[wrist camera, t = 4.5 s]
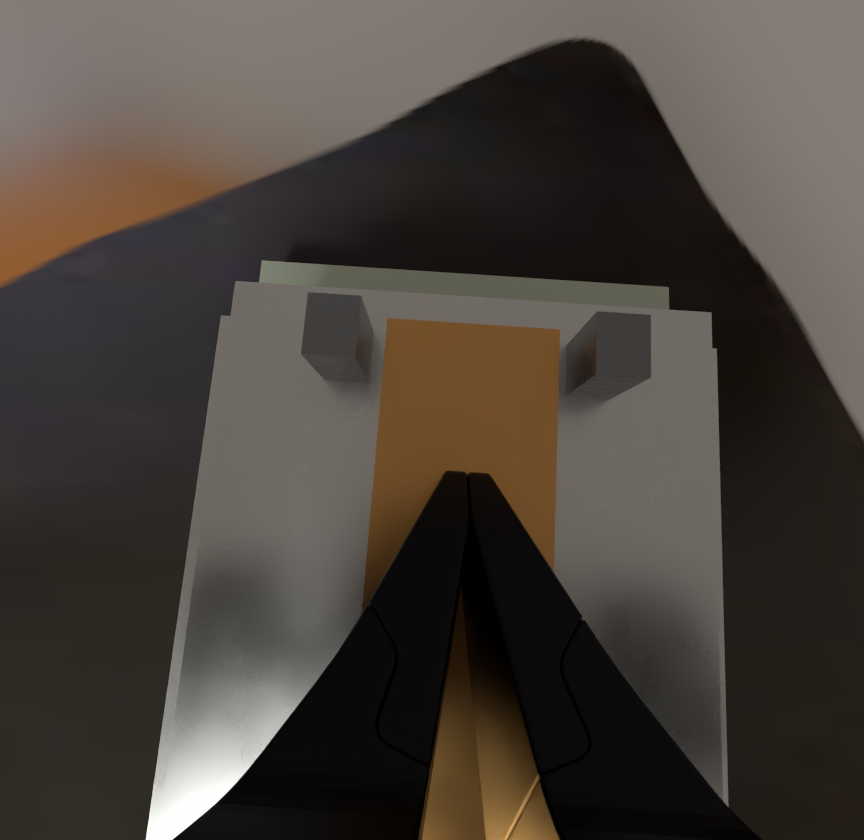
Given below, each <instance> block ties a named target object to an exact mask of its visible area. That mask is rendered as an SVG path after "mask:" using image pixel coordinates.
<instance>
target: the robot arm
mask: <svg viewBox="0 0 864 840" xmlns="http://www.w3.org/2000/svg"><path fill="white" fill-rule="evenodd" d="M460 587H461V588H462V601H463V611H464V621H465V631H466V642H467V652H468V662H469V672H470V682H471V692H472V702H473V712H474V722H475V733H476V743H477V753H478V763H479V773H480V783H481V793H482V803H483V813H484V823H485V834H486V840H762V839H761V838H760V837H758V836H757V835H756V834H755V833H754V832H753V831H752V830H751V829H750V828H749V827H748V826H746V825H745V824H744V823H743V822H742V821H741V820H740V819H739V818H738V817H737V816H736V815H735V814H734V812H733V811H732V810H731V809H730V808H729V807H728V806H727V805H726V804H725V803H724V802H723V800H722V799H721V798H720V797H719V796H718V794H717V793H716V792H715V791H714V790H713V788H712V787H711V786H710V785H709V784H708V782H707V781H706V780H705V779H704V777H703V776H702V775H701V774H700V772H699V771H698V770H697V769H696V767H695V766H694V765H693V764H692V762H691V761H690V760H689V759H688V757H687V756H686V755H685V754H684V752H683V751H682V750H681V749H680V747H679V746H678V745H677V744H676V742H675V741H674V740H673V739H672V737H671V736H670V735H669V734H668V732H667V731H666V730H665V729H664V727H663V726H662V725H661V724H660V722H659V721H658V720H657V719H656V717H655V716H654V715H653V714H652V712H651V711H650V710H649V709H648V707H647V706H646V705H645V704H644V702H643V701H642V700H641V698H640V697H639V696H638V694H637V693H636V692H635V691H634V689H633V688H632V687H631V685H630V684H629V683H628V681H627V680H626V679H625V678H624V676H623V675H622V674H621V672H620V671H619V670H618V668H617V667H616V665H615V664H614V662H613V661H612V660H611V658H610V657H609V655H608V654H607V652H606V651H605V649H604V648H603V646H602V645H601V644H600V642H599V641H598V639H597V638H596V636H595V634H594V633H593V631H592V630H591V628H590V627H589V625H588V624H587V622H586V621H585V620H582V615H581V613H580V612H579V610H578V609H577V607H576V606H575V604H574V602H573V601H572V599H571V598H570V596H569V595H568V593H567V592H566V590H565V589H564V587H563V586H562V584H561V582H560V581H559V579H558V578H557V576H556V575H555V573H554V572H553V570H552V569H551V567H550V566H549V564H548V562H547V561H546V559H545V558H544V556H543V555H542V553H541V552H540V550H539V549H538V547H537V546H536V544H535V543H534V541H533V539H532V538H531V536H530V535H529V533H528V532H527V530H526V529H525V527H524V526H523V524H522V523H521V521H520V519H519V518H518V516H517V515H516V513H515V512H514V510H513V509H512V507H511V506H510V504H509V503H508V501H507V500H506V498H505V496H504V495H503V493H502V492H501V490H500V489H499V487H498V486H497V484H496V483H495V481H494V480H493V478H492V477H491V475H490V474H488V473H479V472H470V473H468V475H467V473H466V472H464V471H449V470H448V471H446V472H445V473H444V474H443V476H442V477H441V479H440V481H439V483H438V484H437V486H436V488H435V489H434V491H433V493H432V495H431V496H430V498H429V500H428V501H427V503H426V505H425V506H424V508H423V510H422V512H421V513H420V515H419V517H418V518H417V520H416V522H415V523H414V525H413V527H412V529H411V530H410V532H409V534H408V535H407V537H406V539H405V541H404V542H403V544H402V546H401V547H400V549H399V551H398V552H397V554H396V556H395V558H394V559H393V561H392V563H391V564H390V566H389V568H388V570H387V571H386V573H385V575H384V576H383V578H382V580H381V581H380V583H379V585H378V587H377V588H376V590H375V592H374V593H373V595H372V597H371V599H370V600H369V605H366V607H365V608H364V610H363V612H362V613H361V615H360V617H359V618H358V620H357V622H356V624H355V625H354V627H353V628H352V630H351V631H350V633H349V635H348V636H347V638H346V639H345V641H344V643H343V644H342V646H341V647H340V649H339V650H338V652H337V653H336V655H335V656H334V657H333V659H332V660H331V662H330V663H329V664H328V666H327V667H326V668H325V670H324V671H323V673H322V674H321V675H320V677H319V678H318V680H317V681H316V682H315V684H314V685H313V686H312V687H311V689H310V690H309V691H308V693H307V694H306V695H305V697H304V698H303V699H302V700H301V702H300V703H299V704H298V706H297V707H296V708H295V710H294V711H293V712H292V713H291V715H290V716H289V717H288V719H287V720H286V721H285V723H284V724H283V725H282V727H281V728H280V729H279V730H278V732H277V733H276V734H275V736H274V737H273V738H272V740H271V741H270V742H269V743H268V745H267V746H266V747H265V749H264V750H263V751H262V753H261V754H260V755H259V756H258V758H257V759H256V760H255V761H254V763H253V764H252V765H251V766H250V768H249V769H248V770H247V771H246V772H245V773H244V775H243V776H242V777H241V778H240V779H239V780H238V781H237V783H236V784H235V785H234V786H233V787H232V788H231V789H230V790H229V791H228V792H227V793H226V794H225V795H224V796H223V797H222V798H221V799H220V800H219V801H218V802H217V803H216V804H215V805H213V806H212V807H211V808H210V809H209V810H208V811H207V812H205V813H204V814H203V815H202V816H200V817H199V818H198V819H197V820H196V821H194V822H193V823H192V824H191V825H190V826H188V827H187V828H186V829H185V830H183V831H182V832H181V833H180V834H179V835H177V836H176V837H175V838H174V839H173V840H422V836H423V830H424V823H425V817H426V810H427V804H428V797H429V791H430V784H431V778H432V771H433V765H434V758H435V751H436V745H437V738H438V732H439V725H440V719H441V712H442V706H443V699H444V693H445V686H446V680H447V673H448V666H449V660H450V653H451V647H452V640H453V634H454V627H455V621H456V614H457V608H458V601H459V594H460Z"/></svg>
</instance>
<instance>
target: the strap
mask: <svg viewBox="0 0 864 840" xmlns="http://www.w3.org/2000/svg"><path fill="white" fill-rule="evenodd" d="M559 355H560V329H546V328H531V327H516V326H501V325H486V324H471V323H456V322H441V321H426V320H411V319H396V318H387V330H386V341H385V352H384V364H383V375H382V387H381V398H380V409H379V421H378V432H377V444H376V455H375V466H374V478H373V489H372V501H371V512H370V523H369V535H368V546H367V558H366V569H365V580H364V592H363V603H362V612H363V610H364V608H365V607H366V605H369V600H370V599H371V597H372V595H373V593H374V592H375V590H376V588H377V587H378V585H379V583H380V581H381V580H382V578H383V576H384V575H385V573H386V571H387V570H388V568H389V566H390V564H391V563H392V561H393V559H394V558H395V556H396V554H397V552H398V551H399V549H400V547H401V546H402V544H403V542H404V541H405V539H406V537H407V535H408V534H409V532H410V530H411V529H412V527H413V525H414V523H415V522H416V520H417V518H418V517H419V515H420V513H421V512H422V510H423V508H424V506H425V505H426V503H427V501H428V500H429V498H430V496H431V495H432V493H433V491H434V489H435V488H436V486H437V484H438V483H439V481H440V479H441V477H442V476H443V474H444V473H445V472H446V471H448V470H449V471H464V472H466V473H467V475H468V473H470V472H479V473H488V474H490V475H491V477H492V478H493V480H494V481H495V483H496V484H497V486H498V487H499V489H500V490H501V492H502V493H503V495H504V496H505V498H506V500H507V501H508V503H509V504H510V506H511V507H512V509H513V510H514V512H515V513H516V515H517V516H518V518H519V519H520V521H521V523H522V524H523V526H524V527H525V529H526V530H527V532H528V533H529V535H530V536H531V538H532V539H533V541H534V543H535V544H536V546H537V547H538V549H539V550H540V552H541V553H542V555H543V556H544V558H545V559H546V561H547V562H548V564H549V566H550V567H551V569H552V570H553V572H554V551H555V512H556V473H557V433H558V394H559ZM422 840H486V834H485V823H484V813H483V803H482V793H481V783H480V773H479V763H478V753H477V743H476V733H475V722H474V712H473V702H472V692H471V682H470V672H469V662H468V652H467V642H466V631H465V621H464V611H463V601H462V588H461V587H460V594H459V601H458V608H457V614H456V621H455V627H454V634H453V640H452V647H451V653H450V660H449V666H448V673H447V680H446V686H445V693H444V699H443V706H442V712H441V719H440V725H439V732H438V738H437V745H436V751H435V758H434V765H433V771H432V778H431V784H430V791H429V797H428V804H427V810H426V817H425V823H424V830H423V836H422Z"/></svg>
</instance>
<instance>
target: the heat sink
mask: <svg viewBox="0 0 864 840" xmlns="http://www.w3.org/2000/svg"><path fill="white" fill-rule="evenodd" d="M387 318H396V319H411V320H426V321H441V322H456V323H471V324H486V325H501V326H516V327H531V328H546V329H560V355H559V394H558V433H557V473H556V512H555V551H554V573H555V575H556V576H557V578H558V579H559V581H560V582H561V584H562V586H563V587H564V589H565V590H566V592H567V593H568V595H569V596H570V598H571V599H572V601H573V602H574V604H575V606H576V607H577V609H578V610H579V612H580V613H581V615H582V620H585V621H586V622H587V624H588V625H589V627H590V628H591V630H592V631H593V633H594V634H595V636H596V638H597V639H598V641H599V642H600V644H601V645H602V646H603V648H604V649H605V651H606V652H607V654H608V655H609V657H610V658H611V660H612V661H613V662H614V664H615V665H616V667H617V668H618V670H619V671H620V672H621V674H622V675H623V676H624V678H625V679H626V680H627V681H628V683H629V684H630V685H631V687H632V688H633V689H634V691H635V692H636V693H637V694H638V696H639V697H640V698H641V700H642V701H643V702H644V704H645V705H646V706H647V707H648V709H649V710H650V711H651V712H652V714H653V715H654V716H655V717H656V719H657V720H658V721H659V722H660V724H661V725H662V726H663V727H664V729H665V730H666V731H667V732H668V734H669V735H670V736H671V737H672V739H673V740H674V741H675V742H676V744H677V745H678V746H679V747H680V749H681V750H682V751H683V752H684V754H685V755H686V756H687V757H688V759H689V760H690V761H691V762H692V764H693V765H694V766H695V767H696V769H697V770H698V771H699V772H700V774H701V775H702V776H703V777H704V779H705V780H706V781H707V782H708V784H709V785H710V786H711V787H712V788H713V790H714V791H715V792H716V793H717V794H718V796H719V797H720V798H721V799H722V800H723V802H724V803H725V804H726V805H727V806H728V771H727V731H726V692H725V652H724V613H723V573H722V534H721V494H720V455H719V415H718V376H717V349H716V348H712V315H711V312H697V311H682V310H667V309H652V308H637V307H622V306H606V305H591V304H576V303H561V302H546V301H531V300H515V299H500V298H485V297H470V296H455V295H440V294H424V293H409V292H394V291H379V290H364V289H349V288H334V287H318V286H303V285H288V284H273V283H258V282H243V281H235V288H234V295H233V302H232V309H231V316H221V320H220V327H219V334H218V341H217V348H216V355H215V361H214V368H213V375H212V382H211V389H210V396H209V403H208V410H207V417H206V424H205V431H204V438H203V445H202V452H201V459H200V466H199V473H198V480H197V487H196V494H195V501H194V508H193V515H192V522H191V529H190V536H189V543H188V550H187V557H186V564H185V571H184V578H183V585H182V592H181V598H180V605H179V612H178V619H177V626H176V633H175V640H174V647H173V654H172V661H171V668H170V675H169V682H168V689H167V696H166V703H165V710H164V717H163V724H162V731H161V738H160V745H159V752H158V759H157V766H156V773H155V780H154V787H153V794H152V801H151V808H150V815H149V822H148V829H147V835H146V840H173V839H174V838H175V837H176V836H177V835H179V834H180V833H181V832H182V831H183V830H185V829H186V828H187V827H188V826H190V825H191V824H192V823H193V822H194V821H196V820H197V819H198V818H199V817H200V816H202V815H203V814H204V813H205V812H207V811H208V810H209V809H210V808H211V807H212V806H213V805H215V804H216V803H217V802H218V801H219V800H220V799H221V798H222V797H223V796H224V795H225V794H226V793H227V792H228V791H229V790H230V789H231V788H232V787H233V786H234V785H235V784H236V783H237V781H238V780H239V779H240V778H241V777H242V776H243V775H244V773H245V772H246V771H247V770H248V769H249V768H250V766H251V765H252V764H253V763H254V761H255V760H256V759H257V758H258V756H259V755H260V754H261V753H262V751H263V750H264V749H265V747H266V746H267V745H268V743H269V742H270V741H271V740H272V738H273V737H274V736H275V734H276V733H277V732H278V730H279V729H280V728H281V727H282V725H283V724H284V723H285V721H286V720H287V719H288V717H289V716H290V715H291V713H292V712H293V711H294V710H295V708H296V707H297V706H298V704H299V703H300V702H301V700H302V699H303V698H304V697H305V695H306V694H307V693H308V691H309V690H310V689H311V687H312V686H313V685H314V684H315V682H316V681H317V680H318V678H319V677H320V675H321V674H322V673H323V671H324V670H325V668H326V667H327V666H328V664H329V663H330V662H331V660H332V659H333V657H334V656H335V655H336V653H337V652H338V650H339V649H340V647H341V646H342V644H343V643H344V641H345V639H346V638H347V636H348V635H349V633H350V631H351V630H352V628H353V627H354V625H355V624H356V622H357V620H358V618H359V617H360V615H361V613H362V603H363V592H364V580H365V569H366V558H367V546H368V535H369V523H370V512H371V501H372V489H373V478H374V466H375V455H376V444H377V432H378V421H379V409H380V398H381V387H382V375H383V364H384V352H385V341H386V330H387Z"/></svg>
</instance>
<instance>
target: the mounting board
mask: <svg viewBox="0 0 864 840" xmlns="http://www.w3.org/2000/svg"><path fill="white" fill-rule="evenodd" d="M259 283H273V284H288V285H303V286H318V287H334V288H349V289H364V290H379V291H394V292H409V293H424V294H440V295H455V296H470V297H485V298H500V299H515V300H531V301H546V302H561V303H576V304H591V305H606V306H622V307H637V308H652V309H667V310H669V287H659V286H644V285H629V284H613V283H598V282H583V281H568V280H552V279H537V278H522V277H507V276H492V275H476V274H461V273H446V272H431V271H415V270H400V269H385V268H370V267H354V266H339V265H324V264H309V263H293V262H278V261H263V260H262V264H261V271H260V279H259Z"/></svg>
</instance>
